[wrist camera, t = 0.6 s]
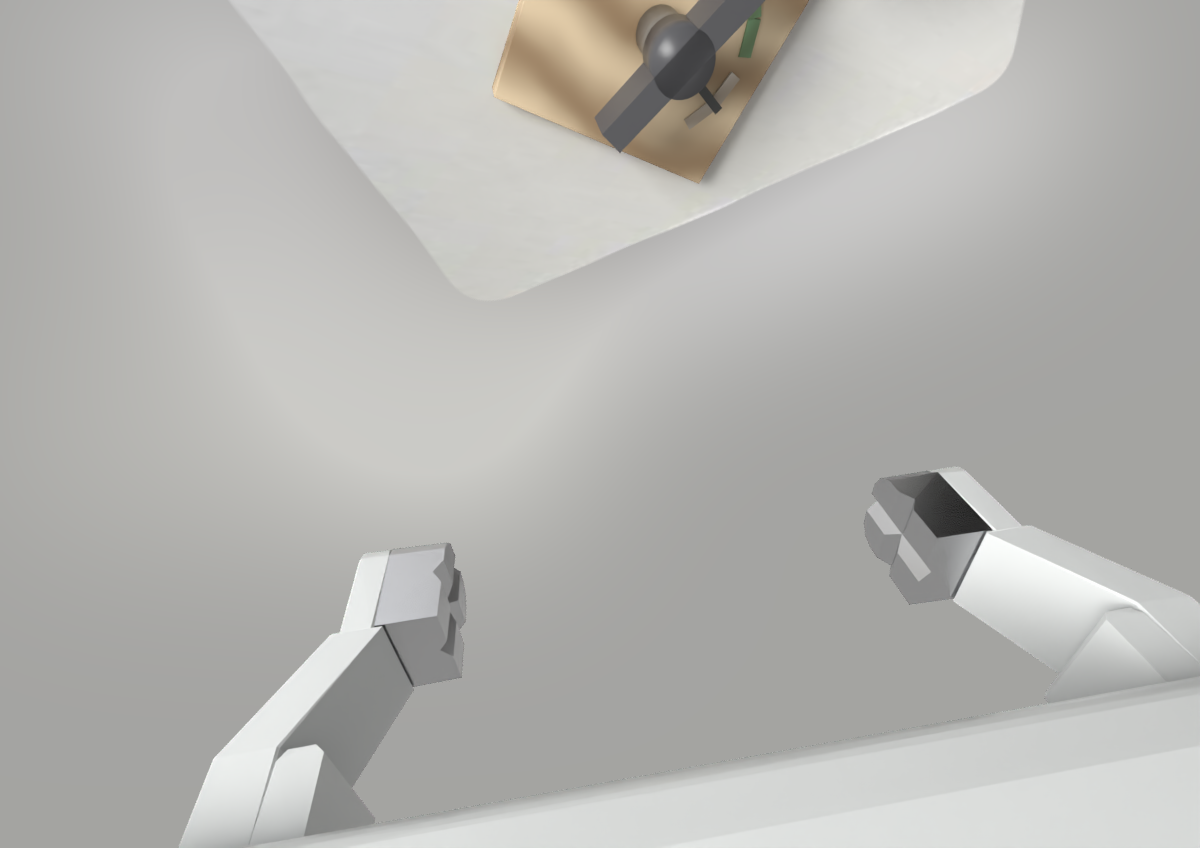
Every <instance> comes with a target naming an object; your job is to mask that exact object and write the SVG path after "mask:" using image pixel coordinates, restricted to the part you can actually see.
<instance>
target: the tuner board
mask: <svg viewBox="0 0 1200 848" xmlns="http://www.w3.org/2000/svg"><path fill="white" fill-rule="evenodd" d="M698 1H699V0H519V2H518V6H517V9H516V12H515V15H514V18H513V22H512V25H511V28H510V31H509V35H508V38H507V41H506V44H505V48H504V51H503V54H502V57H501V61H500V64H499V67H498V70H497V74H496V77H495V80H494V83H493V87H492V88H493V93H494V97H495V98H498V99H500V100H502V101H505V102H507V103H509V104H512V105H514V106H516V107H519V108H521V109H524V110H526V111H528V112H531V113H533V114H535V115H538V116H540V117H542V118H545V119H547V120H550V121H552V122H554V123H557V124H559V125H561V126H564V127H566V128H568V129H571V130H573V131H575V132H578V133H580V134H583V135H585V136H587V137H590V138H592V139H594V140H597V141H599V142H601V143H604V144H606V145H609V146H611V147H613V148H615V147H614V146H613V145H612V144H611V143H610V142H609V141H608V140H607V139H606V138H605V137H604V136H603V135H602V134H601V131H600V129H599V127H598V125H597V122H596V120H595V118H594V117H595V116H596V115H597V114H598V113H599V112H600V110H601V109H602V108H603V107H604V106H605V105H606V104H607V103H608V101H609V100H610V99H611V98H612V97H613V96H614V95H615V94H616V93H617V91H618V90H619V89H620V88H621V87H622V86H623V85H624V84H625V82H626V81H627V80H628V79H629V78H630V77H631V76H632V75H633V73H634V72H635V71H636V70H637V69H638V68H639V67H640V66H641V65H642V63H643V55H642V53H641V52H640V50H639V48H638V46H637V42H636V29H637V25H638V22H639V20H640V18H641V17H642V15H643V14H644V13H645V12H646V11H647V10H648V9H649V8H651V7H653V6H655V5H659V4H665V5H669V6H671V7H672V8H674V9H675V10H676V11H677V12H678V14H684V15H686V14H687V13H688V12H689V11H690V10H691V9H692V7H693V6H694V5H695V4H696V3H697V2H698ZM808 1H809V0H765V1H764V2H763V4H762V5H761V6H760V7H759V8H758V9H757V10H756V11H755V12H754V13H753V14H752V15H751V16H750V17H749V18H748V19H747V20H746V21H745V22H744V23H743V25H742V26H741V27H740V28H739V29H738V30H737V31H736V32H735V33H734V34H733V35H732V36H731V37H730V38H729V39H728V40H727V41H726V42H725V43H724V44H723V45H722V47H721V48H720V49H719V50H718V51H717V52H716V61H715V67H714V71H713V74H712V76H711V78H710V80H709V82H708V83H707V85H706V87H707V88H708V90H709V91H710V92H711V94H712V95H713V96H714V98H715V99H716V100H717V102H718V103H719V104H720V106H721V107H722V109H721V110H720V111H719V112H718V113H717V114H716V115H715V113H714V112H713V111H712V109H711V108H710V107H709V106H708V104H707V103H706V102H705V100H704V99H703V98H702V97H701V95H700V94H699V93H698V94H696V95H695V96H693V97H691V98H688V99H685V100H673V99H671V100H670V101H669V102H668V103H667V104H666V105H665V106H664V107H663V108H662V109H661V110H660V112H659V113H658V114H657V115H656V116H655V117H654V118H653V119H652V120H651V121H650V122H649V123H648V124H647V125H646V126H645V127H644V128H643V129H642V130H641V131H640V133H639V134H638V135H637V136H636V137H635V138H634V139H633V140H632V141H631V142H630V143H629V144H628V145H627V146H626V147H625V148H624V149H623V150H622V151H623V152H625V153H627V154H630V155H632V156H635V157H637V158H639V159H642V160H644V161H646V162H649V163H651V164H653V165H656V166H658V167H661V168H663V169H665V170H668V171H670V172H672V173H675V174H677V175H679V176H682V177H684V178H687V179H689V180H691V181H694V182H696V183H698V184H699V182H700V181H701V179H702V177H703V176H704V174H705V172H706V171H707V169H708V167H709V166H710V164H711V162H712V161H713V159H714V157H715V156H716V154H717V153H718V151H719V149H720V148H721V146H722V144H723V143H724V141H725V139H726V138H727V136H728V134H729V133H730V131H731V129H732V128H733V126H734V124H735V123H736V121H737V119H738V118H739V116H740V114H741V113H742V111H743V109H744V108H745V106H746V104H747V103H748V101H749V99H750V98H751V96H752V94H753V93H754V91H755V89H756V88H757V86H758V84H759V83H760V81H761V79H762V78H763V76H764V74H765V73H766V71H767V70H768V68H769V66H770V65H771V63H772V61H773V60H774V58H775V56H776V55H777V53H778V51H779V50H780V48H781V46H782V45H783V43H784V41H785V40H786V38H787V36H788V35H789V33H790V31H791V30H792V28H793V26H794V25H795V23H796V21H797V20H798V18H799V16H800V15H801V13H802V11H803V10H804V8H805V6H806V5H807V3H808Z"/></svg>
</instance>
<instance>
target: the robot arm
mask: <svg viewBox="0 0 1200 848" xmlns="http://www.w3.org/2000/svg"><path fill="white" fill-rule="evenodd" d="M872 495H873V496H874V497H875V499H876V500H877V501H876V502H875V503H874V504H873V505H872V506H871V507H870V508H869V509H868V510H867V512H866V516H865V520H864V528H865V535H866V538H867V541H868V543H869V546H870V547H871V549H872V551H873V552H874V554H875V555H876V557H877V558H879V559H881V560H882V561H884V562H886V563H888V564H889V565H891V568H890V577H891V579H892V580H893V582H894V583H895V585H896V586H897V587H898V589H899V590H900V592H901V593H902V595H903V596H904V598H905V599H906V601H907V602H908V603H909V605H910V604H917V603H925V602H932V601H939V600H946V599H954V600H953V601H954V602H955V603H957V604H958V605H960V606H961V607H963V608H964V609H966V610H967V611H968V612H970V613H971V614H973V615H974V616H976V617H977V618H979V619H980V620H982V621H983V622H985V623H986V624H987V625H989V626H990V627H992V628H993V629H995V630H996V631H998V632H999V633H1000V634H1002V635H1003V636H1005V637H1006V638H1008V639H1009V640H1011V641H1012V642H1014V643H1015V644H1017V645H1018V646H1019V647H1021V648H1022V649H1024V650H1025V651H1027V652H1028V653H1030V654H1031V655H1033V656H1034V657H1036V658H1037V659H1038V660H1040V661H1041V662H1043V663H1044V664H1046V665H1047V666H1049V667H1050V668H1051V669H1053V670H1054V671H1056V672H1058V673H1059V675H1058V676H1057V677H1056V679H1055V680H1054V681H1053V683H1052V684H1051V685H1050V687H1049V688H1048V689H1047V690H1046V694H1045V700H1046V701H1047V702H1048V704H1043V705H1037V706H1031V707H1026V708H1020V709H1014V710H1009V711H1003V712H997V713H992V714H986V715H981V716H975V717H969V718H964V719H958V720H953V721H947V722H941V723H936V724H930V725H925V726H919V727H913V728H908V729H902V730H897V731H891V732H885V733H880V734H874V735H868V736H863V737H857V738H851V739H846V740H840V741H835V742H829V743H824V744H818V745H812V746H806V747H801V748H795V749H790V750H784V751H779V752H773V753H767V754H762V755H756V756H750V757H745V758H739V759H734V760H729V761H723V762H717V763H712V764H706V765H700V766H695V767H689V768H683V769H678V770H672V771H667V772H661V773H656V774H650V775H645V776H639V777H633V778H627V779H622V780H616V781H611V782H605V783H600V784H594V785H588V786H583V787H578V788H572V789H566V790H561V791H555V792H549V793H544V794H538V795H533V796H528V797H522V798H516V799H510V800H505V801H499V802H493V803H488V804H483V805H477V806H471V807H466V808H460V809H454V810H449V811H443V812H438V813H432V814H427V815H421V816H415V817H410V818H405V819H399V820H393V821H387V822H382V823H376V824H374V822H375V817H374V816H373V815H372V813H371V812H370V811H369V810H368V808H367V807H366V806H365V804H364V803H363V802H362V800H361V799H360V798H359V797H358V795H357V794H356V793H355V791H354V790H353V789H352V787H353V785H354V784H355V782H356V781H357V779H358V778H359V776H360V774H361V773H362V771H363V770H364V768H365V767H366V765H367V763H368V762H369V760H370V759H371V757H372V755H373V754H374V752H375V751H376V749H377V747H378V746H379V744H380V742H381V741H382V740H383V738H384V736H385V735H386V733H387V732H388V730H389V728H390V727H391V725H392V724H393V722H394V720H395V719H396V717H397V716H398V714H399V713H400V711H401V710H402V708H403V706H404V705H405V703H406V702H407V700H408V698H409V697H410V695H411V694H412V692H413V691H414V689H413V687H415V686H420V685H426V684H431V683H436V682H442V681H446V680H452V679H457V678H461V677H462V666H463V652H464V642H463V639H462V636H461V633H460V631H459V630H460V628H461V627H462V626H463V625H464V623H465V621H466V595H465V588H464V582H463V579H462V575H461V572H460V571H458V570H457V569H455V568H454V562H455V554H454V552H453V549H452V547H451V544H450V543H440V544H432V545H424V546H416V547H409V548H399V549H393V550H388V551H379V552H371V553H365V554H364V555H363V557H362V558H361V559H360V561H359V564H358V568H357V571H356V575H355V579H354V583H353V586H352V590H351V594H350V597H349V601H348V605H347V608H346V612H345V616H344V619H343V623H342V627H341V630H340V633H334V634H331V635H330V636H329V637H328V638H327V639H326V640H325V641H324V642H323V643H322V644H321V645H320V647H319V648H318V649H317V650H316V651H315V652H314V653H313V654H312V655H311V656H310V657H309V658H308V659H307V660H306V661H305V662H304V663H303V665H302V666H301V667H300V668H299V669H298V670H297V671H296V672H295V673H294V674H293V675H292V676H291V677H290V678H289V679H288V680H287V681H286V683H285V684H284V685H283V686H282V687H281V688H280V689H279V690H278V691H277V692H276V693H275V694H274V695H273V696H272V697H271V698H270V699H269V701H268V702H267V703H266V704H265V705H264V706H263V707H262V708H261V709H260V710H259V711H258V712H257V713H256V714H255V715H254V717H253V718H252V719H251V720H250V721H249V722H248V723H247V724H246V725H245V726H244V727H243V728H242V729H241V730H240V731H239V732H238V733H237V734H236V736H235V737H234V738H233V739H232V740H231V741H230V742H229V743H228V744H227V745H226V746H225V747H224V748H223V749H222V750H221V751H220V752H219V754H218V755H217V756H216V757H215V758H214V759H213V761H212V764H211V766H210V769H209V771H208V774H207V777H206V779H205V781H204V784H203V787H202V789H201V792H200V794H199V797H198V799H197V802H196V804H195V807H194V809H193V812H192V814H191V817H190V819H189V822H188V825H187V827H186V829H185V832H184V834H183V837H182V840H181V842H180V845H179V847H178V848H1200V604H1199V603H1198V602H1197V601H1196V600H1194V599H1193V598H1192V597H1191V596H1189V595H1187V594H1185V593H1182V592H1180V591H1178V590H1176V589H1174V588H1171V587H1169V586H1167V585H1164V584H1162V583H1160V582H1157V581H1155V580H1153V579H1151V578H1148V577H1146V576H1144V575H1142V574H1139V573H1137V572H1135V571H1133V570H1130V569H1128V568H1126V567H1124V566H1121V565H1119V564H1117V563H1114V562H1112V561H1110V560H1108V559H1106V558H1103V557H1101V556H1099V555H1096V554H1094V553H1092V552H1090V551H1087V550H1085V549H1083V548H1080V547H1078V546H1076V545H1074V544H1072V543H1069V542H1067V541H1065V540H1062V539H1060V538H1058V537H1056V536H1053V535H1051V534H1049V533H1046V532H1044V531H1042V530H1040V529H1038V528H1035V527H1033V526H1031V525H1028V526H1021V525H1020V524H1019V523H1018V522H1017V521H1016V520H1015V519H1014V518H1013V517H1012V516H1011V515H1010V514H1009V513H1008V512H1007V511H1006V510H1005V509H1004V508H1003V507H1002V506H1001V505H1000V504H999V503H998V502H997V501H996V500H995V499H994V498H993V497H992V496H991V495H990V494H989V493H988V492H987V491H986V490H985V489H984V488H983V487H982V486H981V485H980V484H979V483H977V481H976V480H975V479H974V478H973V477H972V476H971V475H969V474H968V473H967V472H966V471H965V470H964V469H962V468H959V467H957V466H956V467H950V468H943V469H938V470H931V471H924V472H917V473H911V474H905V475H899V476H892V477H887V478H880V479H879V480H878V481H877V482H876V483H875V485H874V488H873V492H872Z"/></svg>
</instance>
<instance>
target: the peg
mask: <svg viewBox="0 0 1200 848" xmlns="http://www.w3.org/2000/svg"><path fill="white" fill-rule="evenodd" d="M764 1H765V0H699V1H698V2H697V3H696V4H695V5H694V6H693V7H692V9H691V10H690V11H689V12H688V13H687V14H686V15H684V14H678V12H677V11H676V10H675V9H674V8H672V7H671V6H669V5H665V4H659V5H655V6H653V7H651V8H649V9H648V10H647V11H646V12H645V13H644V14H643V15H642V17H641V18H640V20H639V22H638V25H637V29H636V42H637V46H638V48H639V50H640V52H641V53H642V55H643V63H642V65H641V66H640V67H639V68H638V69H637V70H636V71H635V72H634V73H633V75H632V76H631V77H630V78H629V79H628V80H627V81H626V82H625V84H624V85H623V86H622V87H621V88H620V89H619V90H618V91H617V93H616V94H615V95H614V96H613V97H612V98H611V99H610V100H609V101H608V103H607V104H606V105H605V106H604V107H603V108H602V109H601V110H600V112H599V113H598V114H597V115H596V116H595V117H594V118H595V120H596V122H597V125H598V127H599V129H600V131H601V134H602V135H603V136H604V137H605V138H606V139H607V140H608V141H609V142H610V143H611V144H612V145H613V146H614V147H615V148H616V149H617V150H618V151H619V152H621V151H622V150H623V149H624V148H625V147H626V146H627V145H628V144H629V143H630V142H631V141H632V140H633V139H634V138H635V137H636V136H637V135H638V134H639V133H640V131H641V130H642V129H643V128H644V127H645V126H646V125H647V124H648V123H649V122H650V121H651V120H652V119H653V118H654V117H655V116H656V115H657V114H658V113H659V112H660V110H661V109H662V108H663V107H664V106H665V105H666V104H667V103H668V102H669V101H670V100H671V99H673V100H685V99H688V98H691V97H693V96H695V95H696V94H698V93H699V94H700V95H701V97H702V98H703V99H704V100H705V102H706V103H707V104H708V106H709V107H710V108H711V109H712V111H713V112H714V113H715V115H716V114H717V113H718V112H719V111H720V110H721V109H722V107H721V106H720V104H719V103H718V102H717V100H716V99H715V98H714V96H713V95H712V94H711V92H710V91H709V90H708V88H707V87H706V85H707V83H708V82H709V80H710V78H711V76H712V74H713V71H714V67H715V61H716V52H717V51H718V50H719V49H720V48H721V47H722V45H723V44H724V43H725V42H726V41H727V40H728V39H729V38H730V37H731V36H732V35H733V34H734V33H735V32H736V31H737V30H738V29H739V28H740V27H741V26H742V25H743V23H744V22H745V21H746V20H747V19H748V18H749V17H750V16H751V15H752V14H753V13H754V12H755V11H756V10H757V9H758V8H759V7H760V6H761V5H762V4H763V2H764Z"/></svg>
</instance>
